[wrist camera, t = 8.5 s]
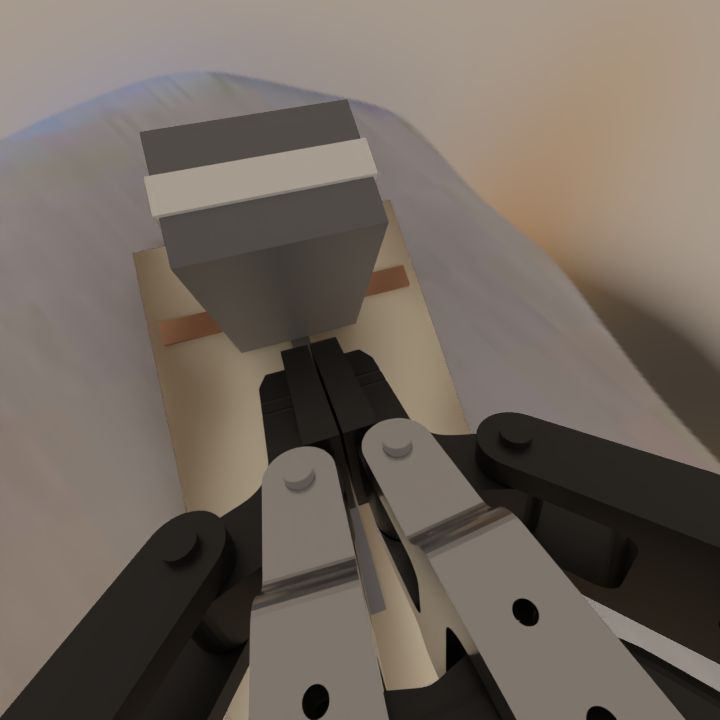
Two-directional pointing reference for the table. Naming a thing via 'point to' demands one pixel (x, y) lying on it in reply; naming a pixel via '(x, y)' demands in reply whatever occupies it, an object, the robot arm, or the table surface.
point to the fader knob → (269, 218)
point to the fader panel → (244, 416)
